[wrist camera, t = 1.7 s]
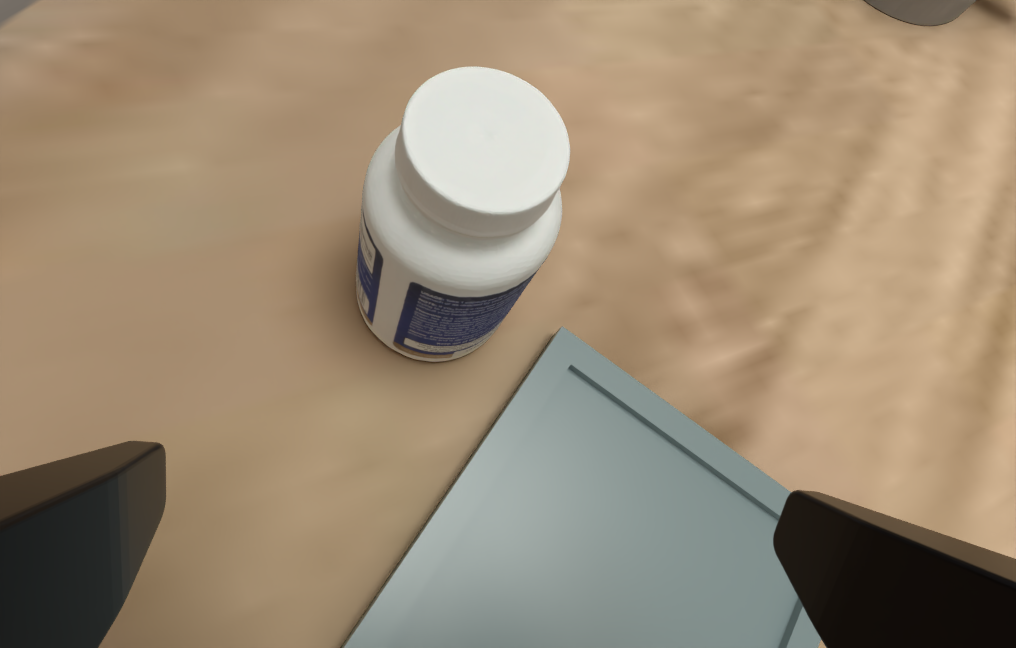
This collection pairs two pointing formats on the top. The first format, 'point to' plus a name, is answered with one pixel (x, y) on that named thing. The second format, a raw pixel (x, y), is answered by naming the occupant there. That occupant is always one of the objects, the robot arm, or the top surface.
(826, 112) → the top surface
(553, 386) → the tray
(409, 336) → the pill bottle
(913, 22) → the coffee mug
